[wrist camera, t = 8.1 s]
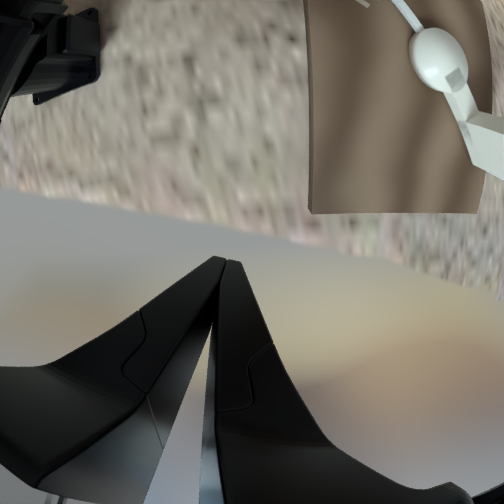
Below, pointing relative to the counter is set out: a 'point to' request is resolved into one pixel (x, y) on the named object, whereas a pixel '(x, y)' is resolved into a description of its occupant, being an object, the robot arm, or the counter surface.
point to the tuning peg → (456, 91)
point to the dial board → (389, 109)
